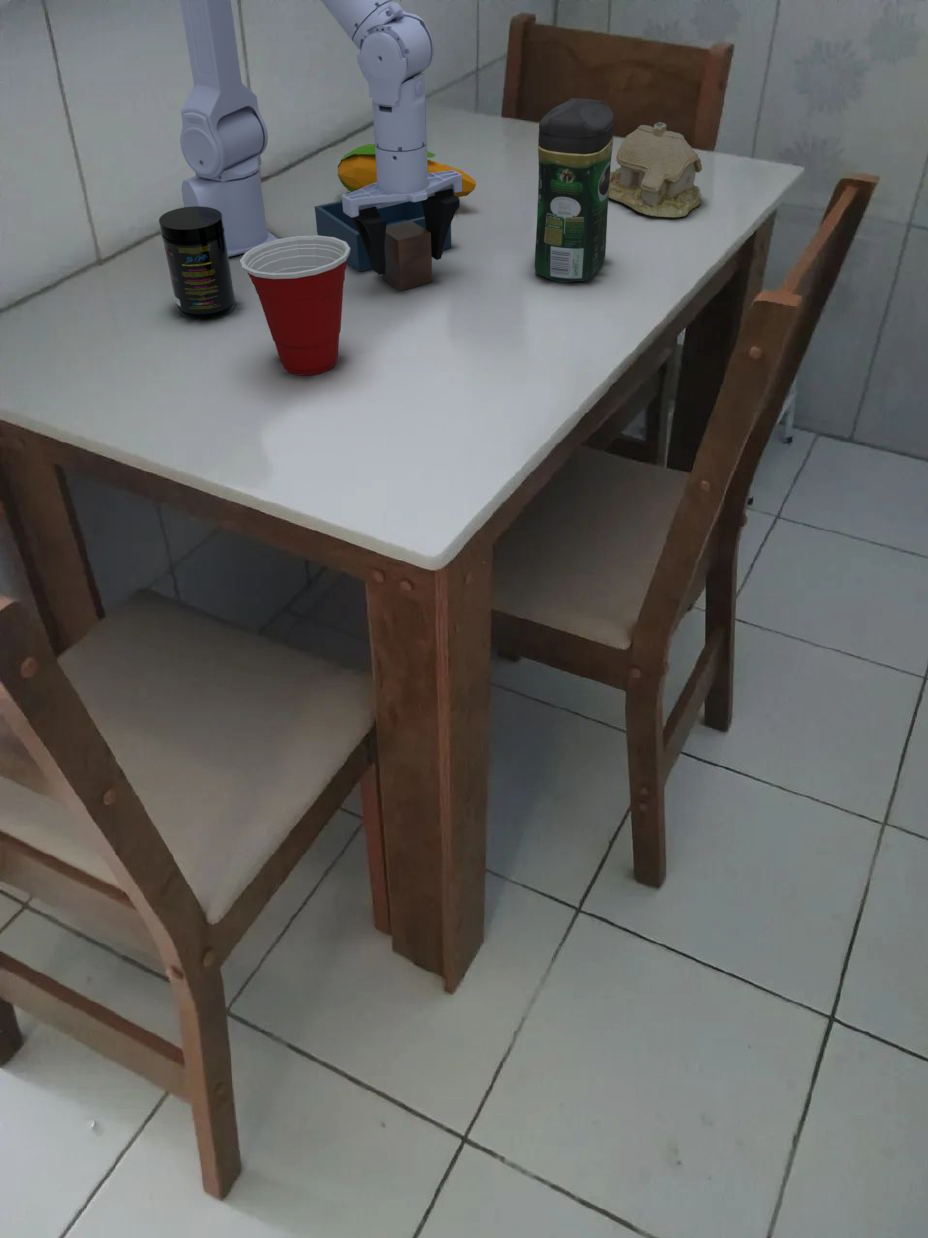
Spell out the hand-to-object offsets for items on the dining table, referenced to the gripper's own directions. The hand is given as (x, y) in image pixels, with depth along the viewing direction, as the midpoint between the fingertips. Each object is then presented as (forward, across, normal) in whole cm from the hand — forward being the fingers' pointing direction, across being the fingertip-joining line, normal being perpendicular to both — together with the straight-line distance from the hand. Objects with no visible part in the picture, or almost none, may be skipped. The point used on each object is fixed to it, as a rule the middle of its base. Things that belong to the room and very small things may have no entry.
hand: (406, 263), depth 125 cm
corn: (+2, +13, +22) cm, 26 cm away
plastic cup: (+2, -19, -12) cm, 23 cm away
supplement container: (+2, -23, +6) cm, 24 cm away
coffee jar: (+2, +18, -8) cm, 20 cm away
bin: (+2, +3, +11) cm, 12 cm away
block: (+2, 0, 0) cm, 2 cm away
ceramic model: (+2, +41, +4) cm, 41 cm away
